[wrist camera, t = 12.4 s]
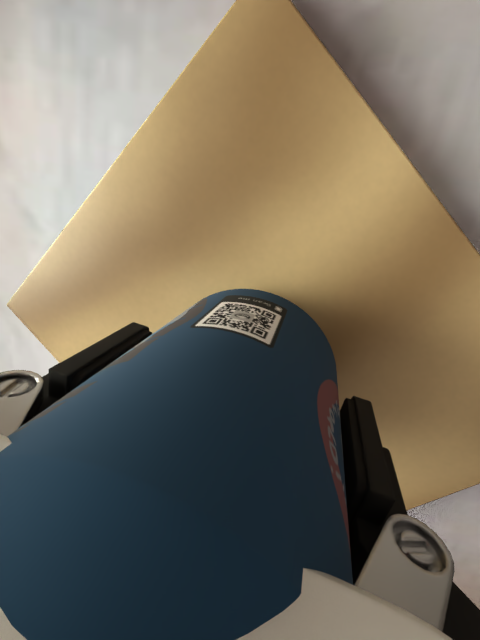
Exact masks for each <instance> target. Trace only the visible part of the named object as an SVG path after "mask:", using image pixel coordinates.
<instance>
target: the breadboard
mask: <svg viewBox="0 0 480 640" xmlns="http://www.w3.org/2000/svg"><path fill="white" fill-rule="evenodd" d="M231 289H255V290H261V291H266V292H269V293H272V294H275V295H278V296H280V297H283V298H285V299H287V300H289V301H290V302H292V303H294V304H295V305H297V306H298V307H300V308H301V309H302V310H304V311H305V312H306V313H307V314H308V315H309V316H310V317H311V318H312V319H313V320H314V321H315V322H316V323H317V324H318V326H319V327H320V328H321V330H322V331H323V333H324V334H325V336H326V338H327V340H328V342H329V344H330V346H331V349H332V351H333V354H334V358H335V363H336V371H337V383H338V396H339V409H341V407H342V404H343V402H344V400H345V398H349V399H351V398H352V397H353V396H356V397H359V398H362V399H365V400H368V401H371V403H372V407H373V411H374V415H375V419H376V423H377V427H378V431H379V435H380V439H381V443H382V447H385V448H387V449H388V450H389V451H390V453H391V457H392V461H393V464H394V468H395V471H396V475H397V479H398V482H399V486H400V489H401V493H402V497H403V500H404V504H405V507H406V510H409V509H412V508H414V507H417V506H420V505H423V504H425V503H428V502H431V501H433V500H436V499H439V498H441V497H444V496H447V495H450V494H452V493H455V492H458V491H460V490H463V489H466V488H469V487H471V486H474V485H477V484H479V483H480V254H479V253H478V252H477V250H476V249H475V248H474V246H473V245H472V243H471V242H470V241H469V239H468V238H467V237H466V235H465V234H464V233H463V231H462V230H461V229H460V227H459V226H458V225H457V223H456V222H455V221H454V219H453V218H452V217H451V215H450V214H449V213H448V211H447V210H446V209H445V207H444V206H443V205H442V203H441V202H440V200H439V199H438V198H437V196H436V195H435V194H434V192H433V191H432V190H431V188H430V187H429V186H428V184H427V183H426V182H425V180H424V179H423V178H422V176H421V175H420V174H419V172H418V171H417V170H416V168H415V167H414V166H413V164H412V163H411V162H410V160H409V159H408V157H407V156H406V155H405V153H404V152H403V151H402V149H401V148H400V147H399V145H398V144H397V143H396V141H395V140H394V139H393V137H392V136H391V135H390V133H389V132H388V131H387V129H386V128H385V127H384V125H383V124H382V123H381V121H380V120H379V119H378V117H377V116H376V114H375V113H374V112H373V110H372V109H371V108H370V106H369V105H368V104H367V102H366V101H365V100H364V98H363V97H362V96H361V94H360V93H359V92H358V90H357V89H356V88H355V86H354V85H353V84H352V82H351V81H350V80H349V78H348V77H347V76H346V74H345V73H344V71H343V70H342V69H341V67H340V66H339V65H338V63H337V62H336V61H335V59H334V58H333V57H332V55H331V54H330V53H329V51H328V50H327V49H326V47H325V46H324V45H323V43H322V42H321V41H320V39H319V38H318V37H317V35H316V34H315V33H314V31H313V30H312V28H311V27H310V26H309V24H308V23H307V22H306V20H305V19H304V18H303V16H302V15H301V14H300V12H299V11H298V10H297V8H296V7H295V6H294V4H293V3H292V2H291V0H236V2H235V3H234V4H233V5H232V7H231V8H230V9H229V11H228V12H227V13H226V15H225V16H224V17H223V19H222V20H221V21H220V23H219V24H218V25H217V27H216V28H215V29H214V31H213V32H212V33H211V35H210V36H209V37H208V39H207V40H206V41H205V43H204V44H203V45H202V47H201V48H200V49H199V50H198V52H197V53H196V54H195V56H194V57H193V58H192V60H191V61H190V62H189V64H188V65H187V66H186V68H185V69H184V70H183V72H182V73H181V74H180V76H179V77H178V78H177V80H176V81H175V82H174V84H173V85H172V86H171V88H170V89H169V90H168V92H167V93H166V94H165V95H164V97H163V98H162V99H161V101H160V102H159V103H158V105H157V106H156V107H155V109H154V110H153V111H152V113H151V114H150V115H149V117H148V118H147V119H146V121H145V122H144V123H143V125H142V126H141V127H140V129H139V130H138V131H137V133H136V134H135V135H134V137H133V138H132V139H131V140H130V142H129V143H128V144H127V146H126V147H125V148H124V150H123V151H122V152H121V154H120V155H119V156H118V158H117V159H116V160H115V162H114V163H113V164H112V166H111V167H110V168H109V170H108V171H107V172H106V174H105V175H104V176H103V178H102V179H101V180H100V182H99V183H98V184H97V185H96V187H95V188H94V189H93V191H92V192H91V193H90V195H89V196H88V197H87V199H86V200H85V201H84V203H83V204H82V205H81V207H80V208H79V209H78V211H77V212H76V213H75V215H74V216H73V217H72V219H71V220H70V221H69V223H68V224H67V225H66V227H65V228H64V229H63V230H62V232H61V233H60V234H59V236H58V237H57V238H56V240H55V241H54V242H53V244H52V245H51V246H50V248H49V249H48V250H47V252H46V253H45V254H44V256H43V257H42V258H41V260H40V261H39V262H38V264H37V265H36V266H35V268H34V269H33V270H32V272H31V273H30V274H29V275H28V277H27V278H26V279H25V281H24V282H23V283H22V285H21V286H20V287H19V289H18V290H17V291H16V293H15V294H14V295H13V297H12V298H11V299H10V301H9V302H8V303H7V306H8V307H9V308H10V309H11V310H12V312H13V313H14V314H15V315H16V316H17V317H18V318H19V319H20V320H21V321H22V322H23V324H24V325H25V326H26V327H27V328H28V329H29V330H30V331H31V332H32V333H33V334H34V336H35V337H36V338H37V339H38V340H39V341H40V342H41V343H42V344H43V345H44V346H45V348H46V349H47V350H48V351H49V352H50V353H51V354H52V355H53V356H54V357H55V358H56V359H57V361H58V362H59V363H61V362H62V361H64V360H66V359H68V358H69V357H71V356H73V355H75V354H77V353H78V352H80V351H82V350H84V349H86V348H87V347H89V346H91V345H93V344H95V343H96V342H98V341H100V340H102V339H103V338H105V337H107V336H109V335H111V334H112V333H114V332H116V331H118V330H120V329H121V328H123V327H125V326H127V325H129V324H130V323H132V322H135V323H138V324H141V325H144V326H147V327H149V331H150V332H152V334H153V333H154V332H156V331H157V330H159V329H160V328H161V327H163V326H164V325H166V324H167V323H169V322H170V321H171V320H173V319H174V318H176V317H177V316H178V315H180V314H181V313H183V312H184V311H186V310H187V309H188V308H190V307H191V306H193V305H194V304H195V303H197V302H198V301H200V300H202V299H203V298H205V297H207V296H209V295H212V294H214V293H218V292H221V291H225V290H231Z"/></svg>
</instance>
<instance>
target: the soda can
mask: <svg viewBox="0 0 480 640" xmlns="http://www.w3.org/2000/svg"><path fill="white" fill-rule="evenodd" d="M7 437H8V438H9V440H10V441H11V444H10V445H9V446H7V447H6V448H5V449H3V450H2V451H1V452H0V608H1V609H2V611H3V612H4V614H5V616H6V617H7V619H8V620H9V622H10V623H11V625H12V626H13V627H14V628H15V629H16V630H17V631H18V632H19V633H20V634H21V635H22V636H23V637H24V638H26V639H27V640H236V639H238V638H240V637H242V636H244V635H246V634H248V633H250V632H252V631H253V630H255V629H256V628H258V627H259V626H261V625H263V624H264V623H266V622H267V621H269V620H270V619H272V618H273V617H275V616H277V615H278V614H280V613H281V612H283V611H284V610H285V609H286V608H288V607H289V606H290V605H291V604H292V603H293V602H295V600H296V599H297V598H298V597H299V596H300V594H301V589H302V577H303V568H306V569H312V570H317V571H320V572H324V573H327V574H329V575H332V576H334V577H336V578H339V579H341V580H343V581H345V582H348V583H350V584H352V585H353V578H352V565H351V552H350V539H349V526H348V513H347V500H346V487H345V474H344V461H343V448H342V435H341V422H340V409H339V396H338V383H337V371H336V363H335V358H334V354H333V351H332V349H331V346H330V344H329V342H328V340H327V338H326V336H325V334H324V333H323V331H322V330H321V328H320V327H319V326H318V324H317V323H316V322H315V321H314V320H313V319H312V318H311V317H310V316H309V315H308V314H307V313H306V312H305V311H304V310H302V309H301V308H300V307H298V306H297V305H295V304H294V303H292V302H290V301H289V300H287V299H285V298H283V297H280V296H278V295H275V294H272V293H269V292H266V291H261V290H255V289H231V290H225V291H221V292H218V293H214V294H212V295H209V296H207V297H205V298H203V299H202V300H200V301H198V302H197V303H195V304H194V305H193V306H191V307H190V308H188V309H187V310H186V311H184V312H183V313H181V314H180V315H178V316H177V317H176V318H174V319H173V320H171V321H170V322H169V323H167V324H166V325H164V326H163V327H161V328H160V329H159V330H157V331H156V332H154V333H153V334H152V335H150V336H149V337H147V338H146V339H144V340H143V341H142V342H140V343H139V344H137V345H136V346H135V347H133V348H132V349H130V350H129V351H127V352H126V353H125V354H123V355H122V356H120V357H119V358H118V359H116V360H115V361H113V362H112V363H110V364H109V365H108V366H106V367H105V368H103V369H102V370H101V371H99V372H98V373H96V374H95V375H93V376H92V377H91V378H89V379H88V380H86V381H85V382H84V383H82V384H81V385H79V386H78V387H76V388H75V389H74V390H72V391H71V392H69V393H68V394H67V395H65V396H64V397H62V398H61V399H59V400H58V401H57V402H55V403H54V404H52V405H51V406H50V407H48V408H47V409H45V410H44V411H42V412H41V413H40V414H38V415H37V416H35V417H34V418H33V419H31V420H30V421H28V422H27V423H25V424H24V425H23V426H21V427H20V428H18V429H17V430H16V431H14V432H13V433H11V434H10V435H8V436H7Z"/></svg>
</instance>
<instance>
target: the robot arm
mask: <svg viewBox="0 0 480 640" xmlns="http://www.w3.org/2000/svg"><path fill="white" fill-rule="evenodd" d="M150 335H152V332H150V331H149V327H147V326H144V325H141V324H138V323H135V322H132V323H130V324H129V325H127V326H125V327H123V328H121V329H120V330H118V331H116V332H114V333H112V334H111V335H109V336H107V337H105V338H103V339H102V340H100V341H98V342H96V343H95V344H93V345H91V346H89V347H87V348H86V349H84V350H82V351H80V352H78V353H77V354H75V355H73V356H71V357H69V358H68V359H66V360H64V361H62V362H61V363H59V364H57V365H55V366H53V367H52V368H50V369H49V373H48V374H47V375H45V376H43V377H41V376H40V375H39V374H37V373H34V372H32V371H26V370H12V371H5V372H1V373H0V452H1V451H2V450H3V449H5V448H6V447H7V446H9V445H10V444H11V441H10V440H9V438H8V437H7V436H8V435H10V434H11V433H13V432H14V431H16V430H17V429H18V428H20V427H21V426H23V425H24V424H25V423H27V422H28V421H30V420H31V419H33V418H34V417H35V416H37V415H38V414H40V413H41V412H42V411H44V410H45V409H47V408H48V407H50V406H51V405H52V404H54V403H55V402H57V401H58V400H59V399H61V398H62V397H64V396H65V395H67V394H68V393H69V392H71V391H72V390H74V389H75V388H76V387H78V386H79V385H81V384H82V383H84V382H85V381H86V380H88V379H89V378H91V377H92V376H93V375H95V374H96V373H98V372H99V371H101V370H102V369H103V368H105V367H106V366H108V365H109V364H110V363H112V362H113V361H115V360H116V359H118V358H119V357H120V356H122V355H123V354H125V353H126V352H127V351H129V350H130V349H132V348H133V347H135V346H136V345H137V344H139V343H140V342H142V341H143V340H144V339H146V338H147V337H149V336H150ZM340 422H341V435H342V448H343V461H344V474H345V487H346V500H347V513H348V526H349V539H350V552H351V565H352V578H353V585H352V584H350V583H348V582H345V581H343V580H341V579H339V578H336V577H334V576H332V575H329V574H327V573H324V572H320V571H317V570H312V569H306V568H303V577H302V589H301V594H300V596H299V597H298V598H297V599H296V600H295V602H293V603H292V604H291V605H290V606H289V607H288V608H286V609H285V610H284V611H283V612H281V613H280V614H278V615H277V616H275V617H273V618H272V619H270V620H269V621H267V622H266V623H264V624H263V625H261V626H259V627H258V628H256V629H255V630H253V631H252V632H250V633H248V634H246V635H244V636H242V637H240V638H238V639H236V640H480V610H479V609H478V608H477V607H476V606H475V605H474V603H473V602H472V601H471V600H470V599H469V598H468V597H467V596H466V595H465V594H464V593H463V592H462V591H461V590H460V589H459V588H458V587H457V586H456V585H455V584H454V582H453V576H454V561H453V559H452V556H451V553H450V551H449V550H448V548H447V547H446V545H445V544H444V542H443V541H442V540H441V539H440V537H439V536H438V535H437V534H436V533H435V532H434V531H433V530H432V529H430V528H429V527H428V526H427V525H426V524H424V523H422V522H421V521H419V520H418V519H416V518H413V517H411V516H408V515H407V511H406V507H405V504H404V500H403V497H402V493H401V489H400V486H399V482H398V479H397V475H396V471H395V468H394V464H393V461H392V457H391V453H390V451H389V450H388V449H387V448H385V447H382V443H381V439H380V435H379V431H378V427H377V423H376V419H375V415H374V411H373V407H372V403H371V401H368V400H365V399H362V398H359V397H356V396H353V397H352V398H351V399H349V398H345V400H344V402H343V404H342V407H341V409H340ZM0 640H27V639H26V638H24V637H23V636H22V635H21V634H20V633H19V632H18V631H17V630H16V629H15V628H14V627H13V626H12V625H11V623H10V622H9V620H8V619H7V617H6V616H5V614H4V612H3V611H2V609H1V608H0Z"/></svg>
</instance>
